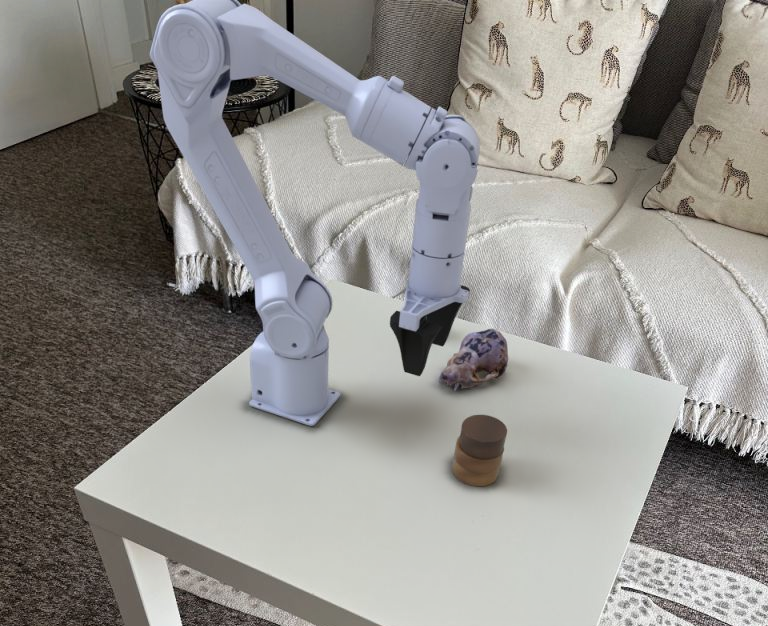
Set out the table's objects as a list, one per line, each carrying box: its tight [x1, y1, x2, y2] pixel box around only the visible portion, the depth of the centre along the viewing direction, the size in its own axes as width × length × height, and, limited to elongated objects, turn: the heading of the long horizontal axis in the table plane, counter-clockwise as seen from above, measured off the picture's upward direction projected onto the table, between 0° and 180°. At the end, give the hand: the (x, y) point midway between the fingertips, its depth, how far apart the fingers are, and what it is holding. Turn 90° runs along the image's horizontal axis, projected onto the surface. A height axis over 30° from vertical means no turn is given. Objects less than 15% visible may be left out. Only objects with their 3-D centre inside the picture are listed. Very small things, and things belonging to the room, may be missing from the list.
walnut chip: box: [459, 414, 508, 459], centre depth 82 cm, size 5×5×2 cm
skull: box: [437, 328, 509, 392], centre depth 99 cm, size 12×8×6 cm, turn 129°
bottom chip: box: [451, 456, 501, 487], centre depth 85 cm, size 6×6×2 cm
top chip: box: [453, 435, 505, 473], centre depth 83 cm, size 6×6×2 cm
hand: (424, 357), depth 85 cm, fingers open, 7 cm apart
